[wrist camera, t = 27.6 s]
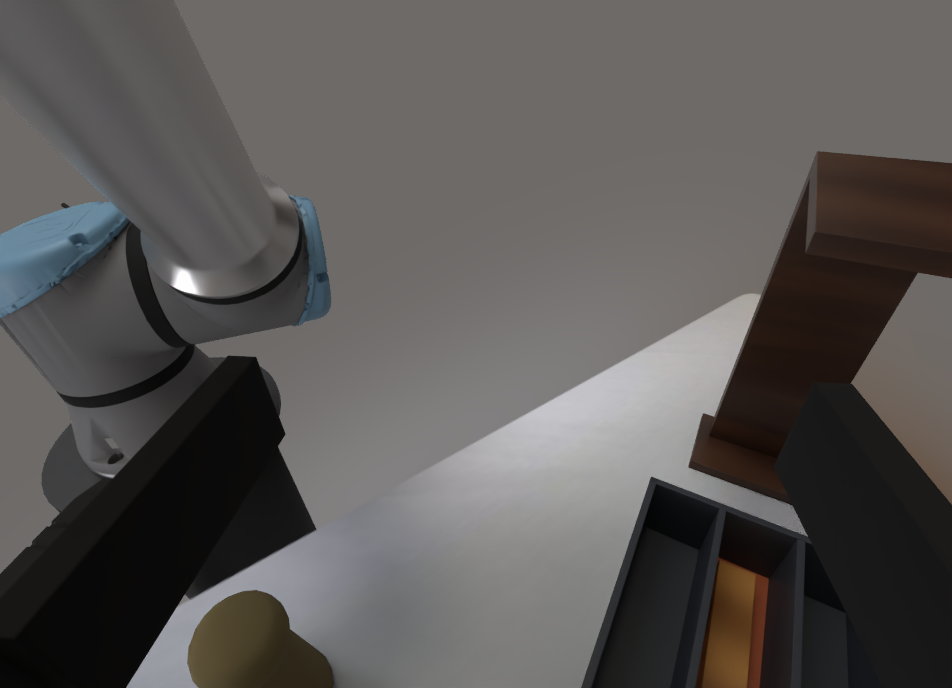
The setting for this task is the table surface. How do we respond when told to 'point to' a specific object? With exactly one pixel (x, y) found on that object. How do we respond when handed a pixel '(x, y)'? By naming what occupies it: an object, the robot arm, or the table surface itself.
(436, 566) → the table surface
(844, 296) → the shelf stand
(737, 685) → the bar
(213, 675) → the cork
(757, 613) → the slot rack
